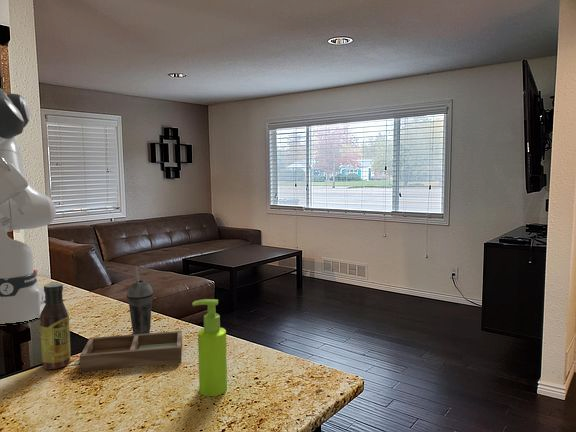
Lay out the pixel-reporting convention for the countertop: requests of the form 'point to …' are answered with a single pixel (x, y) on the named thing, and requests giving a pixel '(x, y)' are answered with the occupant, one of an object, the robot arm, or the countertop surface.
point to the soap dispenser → (212, 352)
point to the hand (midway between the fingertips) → (16, 218)
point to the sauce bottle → (54, 329)
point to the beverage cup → (140, 305)
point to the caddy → (131, 351)
